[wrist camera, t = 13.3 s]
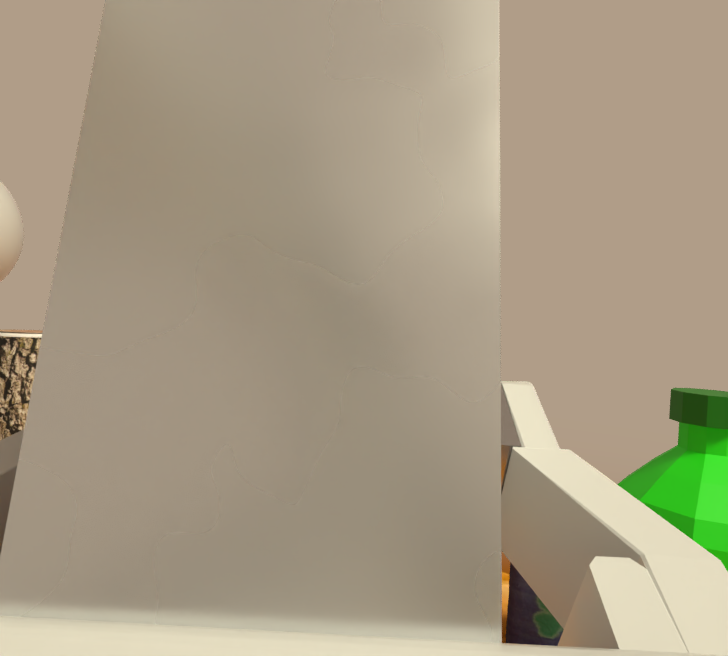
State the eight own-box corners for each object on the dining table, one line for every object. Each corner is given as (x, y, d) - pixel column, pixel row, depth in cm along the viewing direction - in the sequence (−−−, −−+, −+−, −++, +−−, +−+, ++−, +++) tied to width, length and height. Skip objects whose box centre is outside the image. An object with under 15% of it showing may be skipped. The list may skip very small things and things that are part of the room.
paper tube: (-9, 543, 60) (1, 328, 60) (58, 538, 62) (68, 331, 62) (-30, 571, 54) (-18, 330, 53) (45, 563, 56) (57, 333, 56)
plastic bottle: (794, 800, 32) (820, 397, 32) (796, 956, 24) (831, 415, 24) (618, 715, 38) (638, 379, 38) (572, 815, 30) (598, 388, 30)
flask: (614, 662, 45) (621, 538, 44) (624, 685, 42) (631, 553, 42) (504, 642, 47) (510, 524, 47) (505, 662, 44) (512, 536, 44)
